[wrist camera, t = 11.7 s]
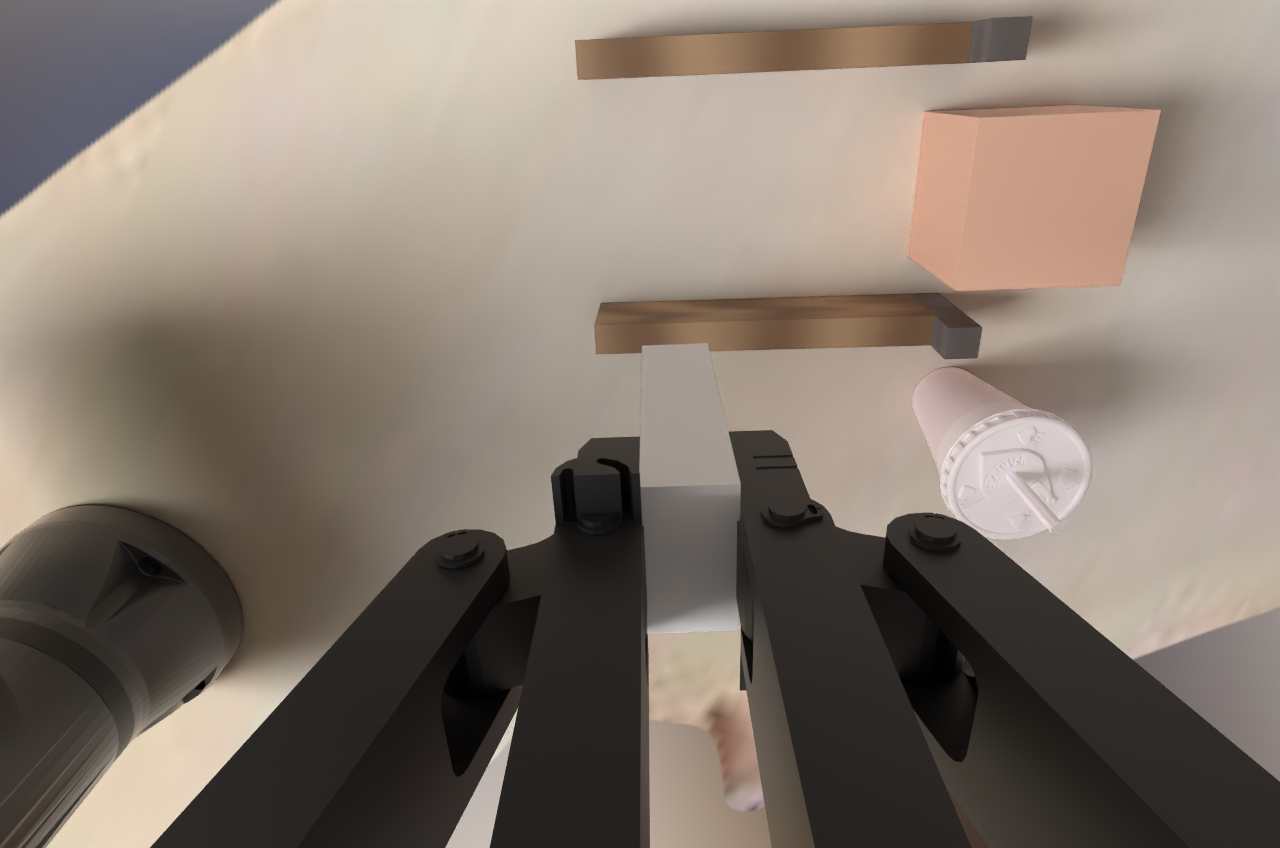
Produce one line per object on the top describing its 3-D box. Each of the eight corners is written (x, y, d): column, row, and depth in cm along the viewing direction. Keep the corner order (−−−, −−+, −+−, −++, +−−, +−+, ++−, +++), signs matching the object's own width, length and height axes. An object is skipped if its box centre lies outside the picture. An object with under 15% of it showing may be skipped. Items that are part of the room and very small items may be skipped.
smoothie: (945, 321, 40) (1076, 433, 27) (1028, 386, 41) (1190, 521, 29) (864, 409, 42) (949, 550, 29) (945, 467, 44) (1060, 626, 31)
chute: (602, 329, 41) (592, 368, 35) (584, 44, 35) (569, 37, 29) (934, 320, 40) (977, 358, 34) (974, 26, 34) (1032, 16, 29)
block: (907, 256, 39) (955, 290, 32) (923, 111, 36) (979, 117, 29) (1044, 251, 38) (1120, 285, 32) (1072, 105, 35) (1161, 109, 29)
